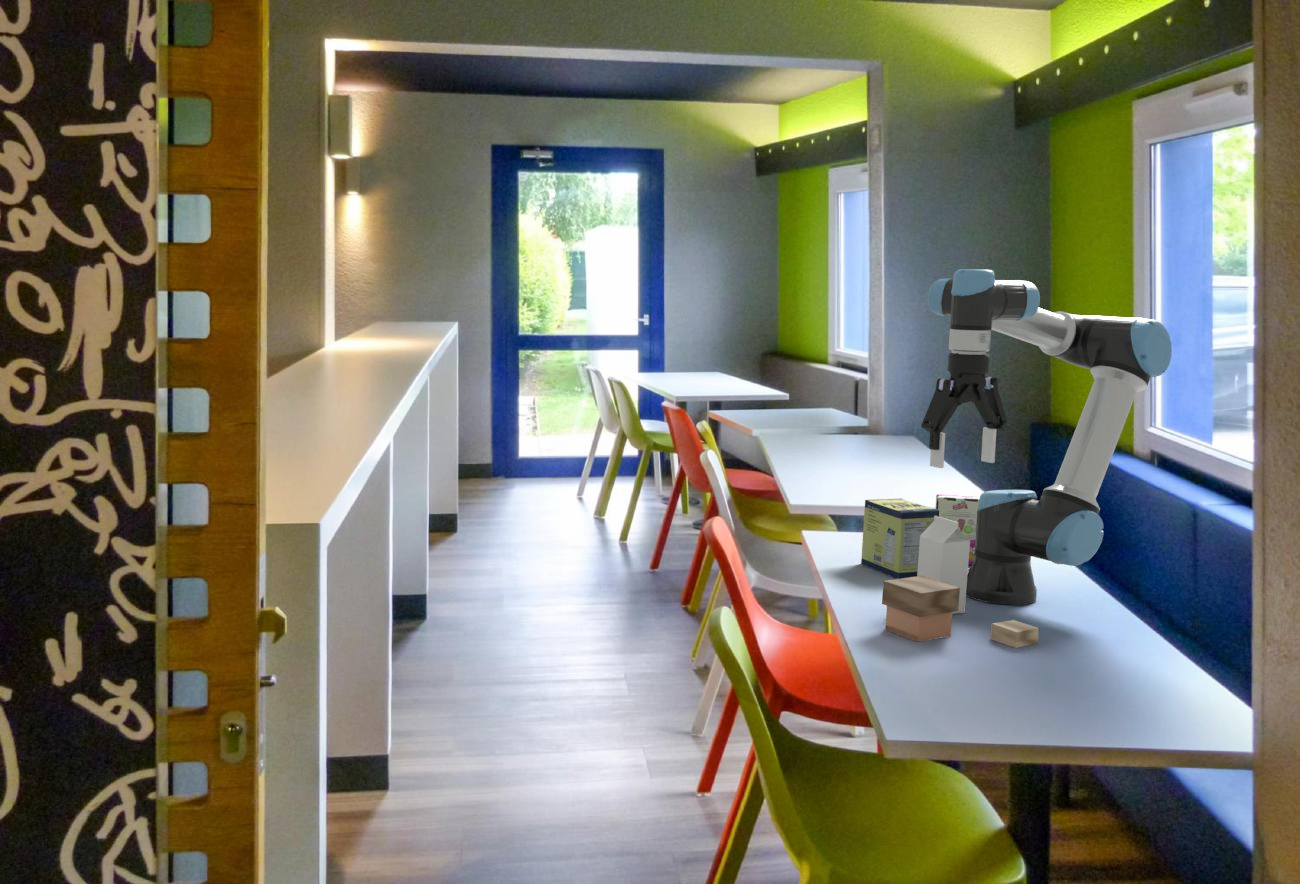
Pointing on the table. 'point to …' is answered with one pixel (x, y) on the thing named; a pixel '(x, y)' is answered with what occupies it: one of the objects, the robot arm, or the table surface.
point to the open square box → (918, 625)
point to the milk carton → (945, 556)
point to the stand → (1014, 633)
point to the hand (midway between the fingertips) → (962, 464)
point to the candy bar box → (961, 515)
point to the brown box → (920, 596)
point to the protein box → (894, 535)
